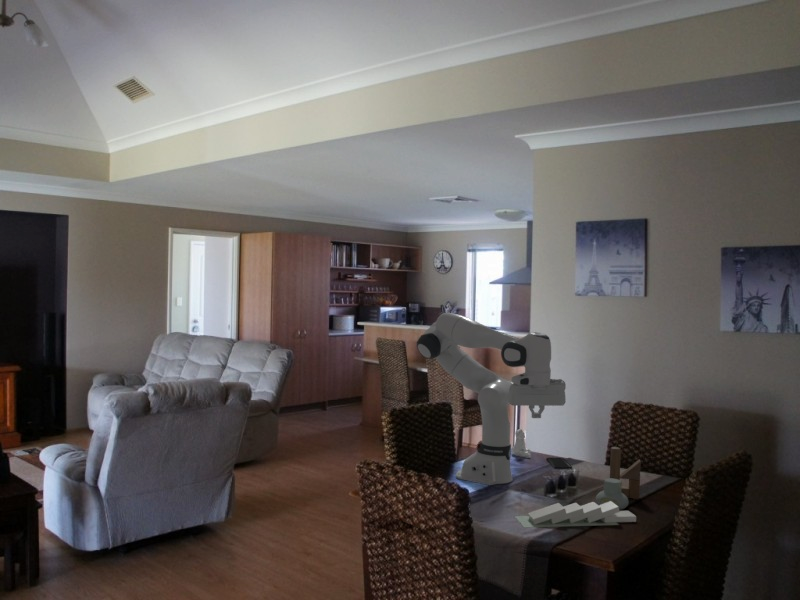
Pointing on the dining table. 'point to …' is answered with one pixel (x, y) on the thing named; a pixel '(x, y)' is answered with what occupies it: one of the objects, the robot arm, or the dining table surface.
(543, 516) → the domino
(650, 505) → the dining table surface
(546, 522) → the domino board
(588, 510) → the domino
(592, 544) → the dining table surface
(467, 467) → the robot arm
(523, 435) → the sitting furry creature
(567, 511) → the domino
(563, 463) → the phone
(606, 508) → the domino
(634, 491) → the wooden block
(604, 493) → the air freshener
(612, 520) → the domino
